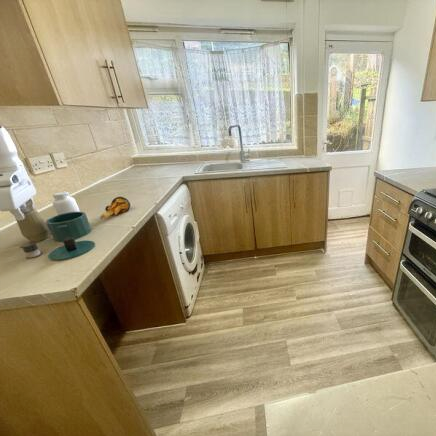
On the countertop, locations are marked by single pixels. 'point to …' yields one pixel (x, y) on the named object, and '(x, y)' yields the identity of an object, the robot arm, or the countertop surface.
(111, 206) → the chicken drumstick
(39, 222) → the squeeze bottle
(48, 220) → the pot
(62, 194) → the pill bottle
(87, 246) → the pot lid
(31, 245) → the thread spool
